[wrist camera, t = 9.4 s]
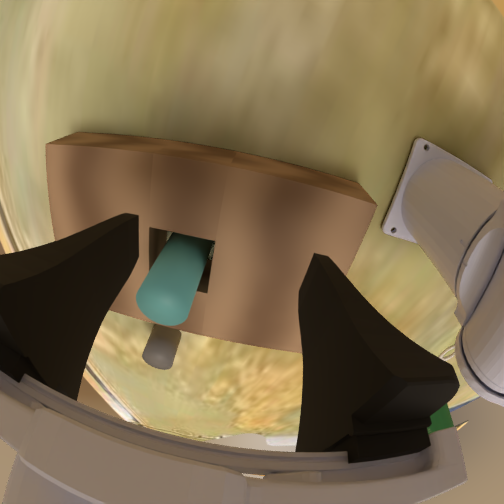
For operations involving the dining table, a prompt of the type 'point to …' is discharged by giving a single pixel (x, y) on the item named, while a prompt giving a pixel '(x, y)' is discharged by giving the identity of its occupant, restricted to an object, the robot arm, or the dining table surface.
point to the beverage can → (440, 420)
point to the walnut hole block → (213, 224)
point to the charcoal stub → (161, 347)
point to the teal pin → (174, 279)
